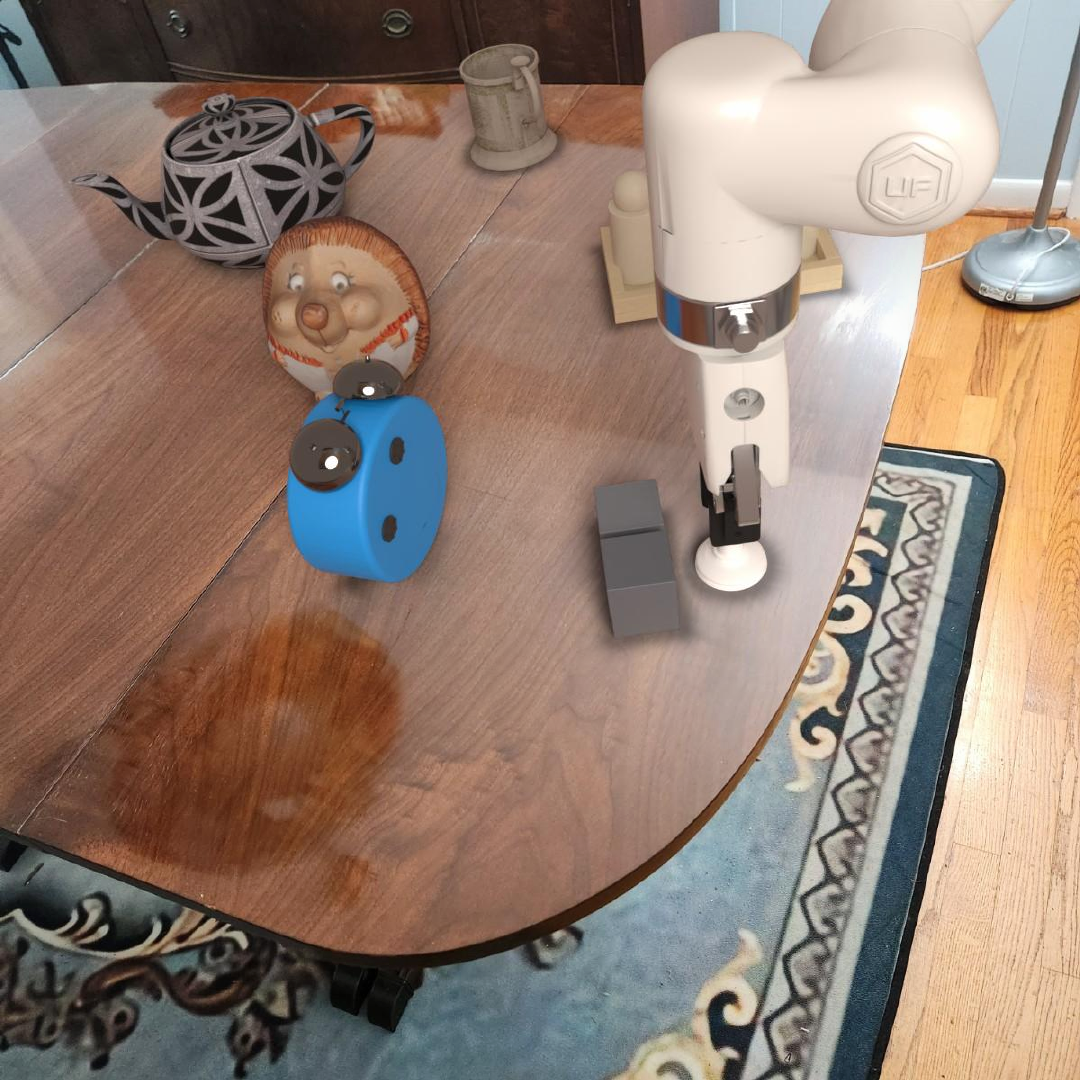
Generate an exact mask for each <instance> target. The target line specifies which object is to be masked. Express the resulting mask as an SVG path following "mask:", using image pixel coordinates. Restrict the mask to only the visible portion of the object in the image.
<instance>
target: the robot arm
mask: <svg viewBox="0 0 1080 1080" xmlns="http://www.w3.org/2000/svg"><path fill="white" fill-rule="evenodd" d="M1015 1H1016V0H830V1H829V3H828V5H827V7H826V9H825V11H824V12H823V14H822V16H821V19H820V21H819V23H818V25H817V28H816V31H815V34H814V35H813V36H814V37H813V38H812V42H811V45H810V46H811V47H810V51H809V55H808V64H807V63H806V60H805V59H804V57H803V55H801V53H800V51H799V50H798V49H797V48H796V47H795V46H794V45H793V44H790V43H789V42H787V41H786V40H785V39H783V38H781V37H779V36H777V35H774V34H770V33H766V32H762V31H753V30H726V31H718V32H717V31H715V32H711V33H706V34H702V35H699V36H695V37H692V38H689V39H687V40H684V41H682V42H680V43H678V44H676V45H674V46H672V47H671V48H668V50H667V51H665V52H664V53H663V54H662V55H660V56H659V57H658V58H657V59H656V60H655V61H654V62H653V64H652V65H651V67H650V68H649V71H648V72H647V74H646V76H645V79H644V82H643V86H642V92H641V118H642V132H643V145H644V158H645V172H646V173H645V174H646V175H647V186H648V199H649V211H650V221H651V236H652V250H653V264H654V278H655V291H656V305H657V324H658V327H659V329H660V331H661V332H662V335H664V337H666V338H667V339H668V340H669V341H670V343H672V344H674V345H675V346H677V347H679V354H680V366H681V376H682V383H683V384H682V385H683V391H684V398H685V403H686V408H687V413H688V419H689V423H690V428H691V431H692V436H693V440H694V444H695V449H696V452H697V456H698V459H699V461H698V462H699V464H698V465H699V466H698V467H699V484H700V485H699V486H700V487H699V488H700V501H701V505H702V507H703V508H704V509H708V522H709V523H708V527H709V537H710V541H711V545H712V546H713V547H721V546H728V545H738V544H743V543H750V542H756V541H758V542H759V540H760V539H761V534H762V533H761V532H762V531H761V530H762V496H761V494H762V492H761V491H762V489H761V487H762V486H761V485H762V481H761V480H762V479H761V478H762V477H761V475H762V476H763V478H764V480H765V481H766V483H767V484H768V486H769V487H770V488H771V489H777V488H784V487H785V486H787V484H788V483H789V482H790V479H791V403H790V402H791V401H790V382H789V381H790V380H789V378H790V377H789V367H788V357H787V356H788V355H787V349H786V348H787V347H786V339H785V337H786V336H788V335H789V333H790V332H791V331H792V330H793V329H794V327H795V326H796V324H797V322H798V318H799V316H800V301H801V295H800V286H801V266H802V240H803V225H804V226H811V227H818V228H824V229H828V230H831V231H838V232H843V233H850V234H856V235H863V236H872V237H885V238H886V237H889V238H900V237H911V236H918V235H925V234H927V233H928V234H929V233H931V232H935V231H938V230H940V229H942V228H945V227H947V226H949V225H951V224H953V223H955V222H956V221H958V220H959V219H961V218H962V217H964V216H966V215H967V214H968V213H969V212H970V211H972V210H973V208H975V206H976V205H977V204H978V203H979V202H980V201H981V200H982V198H984V196H985V194H986V193H987V191H988V190H989V188H990V186H991V184H992V181H993V180H994V177H995V175H996V172H997V168H998V164H999V161H1000V154H1001V134H1000V126H999V120H998V116H997V113H996V112H997V111H996V110H995V105H994V101H993V98H992V95H991V92H990V89H989V85H988V82H987V80H986V76H985V72H984V68H983V65H982V61H981V60H980V59H981V58H980V56H979V53H978V50H977V48H978V46H979V45H980V44H981V43H982V41H983V40H984V39H985V37H986V36H987V35H988V34H989V32H990V31H991V30H992V28H993V27H994V26H995V25H996V24H997V23H998V22H999V20H1000V19H1001V18H1002V17H1003V15H1004V14H1005V13H1006V12H1007V11H1008V9H1009V8H1010V7H1011V6H1012V5H1013V3H1014V2H1015ZM729 483H733V491H730V492H724V485H725V484H729Z"/></svg>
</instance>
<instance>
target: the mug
mask: <svg viewBox="0 0 1080 1080" xmlns="http://www.w3.org/2000/svg"><path fill="white" fill-rule="evenodd" d="M539 63H540V58H539V55H538V51H537V50H536V49H534V48H533V47H532V46H529V45H525V44H520V43H504V44H503V43H502V44H498V45H497V44H496V45H492V46H488V47H485V48H481V49H480V50H477V51H475V52H473V53H471V54H470V55H468V56H466V58H464V59H463V60H462V61H461V63H460V65H459V67H458V69H459V75H460V78H461V80H463V84H464V89H465V94H466V98H467V99H466V100H467V103H468V104H467V105H468V108H469V112H470V118H471V123H472V128H473V133H474V143H473V145H472V147H471V150H470V151H469V152H470V158H471V161H472V162H473V163H474V164H475V165H476V166H478V167H480V168H482V169H484V170H489V171H494V172H495V171H496V172H507V171H515V170H520V169H525V168H528V167H531V166H533V165H536V164H538V163H540V162H542V161H544V160H545V159H546V158H548V157H550V155H551V154H552V153H553V152H554V151H555V150H556V147H557V145H558V139H557V135H556V133H555V132H553V130H551V129H550V128H549V126H548V122H547V119H546V113H545V106H544V100H543V93H542V86H541V80H540V79H541V78H540V73H539V66H538V65H539Z"/></svg>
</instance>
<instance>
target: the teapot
mask: <svg viewBox="0 0 1080 1080" xmlns="http://www.w3.org/2000/svg"><path fill="white" fill-rule="evenodd" d="M201 109H202V110H200V111H198V112H195V113H194V114H192V115H190V116H188V117H187V118H185V119H184V120H183V121H181V122H180V123H178V124H177V125H175V127H173V128H172V129H171V130H170V132H168V133H167V135H166V137H165V138H164V140H163V142H162V145H161V154H160V155H161V156H160V193H161V201H160V200H159V201H147V200H144V199H143V200H142V199H141V198H139V197H137V196H136V195H134V194H133V193H132V192H131V191H129V189H127V188H126V186H124V185H123V184H122V183H121V181H119V180H118V179H116V178H115V177H113V176H111V175H109V174H107V173H103V172H90V173H86V174H83V175H80V176H77V177H75V178H72V179H70V180H69V181H68V184H69V185H72V186H78V187H85V188H90V189H93V190H96V191H98V192H100V193H101V194H103V195H104V196H105V197H106V198H109V199H110V201H112V203H114V205H115V206H116V207H117V208H118V209H119V210H120V211H121V212H122V213H123V215H125V217H126V218H127V219H128V220H129V221H130V222H131V223H132V224H133V226H135V227H136V228H137V229H138V230H140V231H141V232H142V233H144V234H146V235H148V236H150V237H152V238H155V239H159V240H163V241H176V242H177V244H178V245H179V246H180V247H181V248H183V249H184V250H185V251H186V252H188V253H189V254H191V255H193V256H195V257H196V258H198V259H201V260H204V261H206V262H210V263H212V264H217V265H220V266H223V267H226V268H230V269H231V268H232V269H241V270H242V269H245V270H246V269H256V268H263V267H265V264H266V261H267V257H268V255H269V252H270V250H271V247H272V246H273V244H274V242H275V241H276V240H277V239H278V237H279V236H280V235H281V234H282V233H283V232H285V231H287V230H288V229H290V228H292V227H293V226H295V225H296V224H299V223H301V222H304V221H307V220H310V219H314V218H321V217H327V216H339V214H340V212H341V210H342V208H343V206H344V202H345V201H346V200H345V199H346V193H347V184H346V183H347V182H348V181H349V180H351V178H352V177H353V176H354V175H355V174H356V173H357V172H358V171H359V169H360V168H361V167H362V165H363V164H364V163H365V161H366V160H367V158H368V157H369V155H370V152H371V150H372V148H373V145H374V141H375V137H376V122H375V117H374V116H373V113H372V112H371V110H370V109H369V107H367V106H366V105H363V104H361V103H346V104H339V105H336V106H332V107H327V108H325V109H321V110H318V111H315V112H312V113H308V114H306V115H303V114H302V113H301V111H299V109H297V107H295V106H294V104H292V103H290V102H289V101H287V100H285V99H281V98H277V97H271V96H250V97H244V98H237V97H236V96H235V95H234V94H232V93H228V92H227V93H218V94H215V95H212V96H210V97H208V98H207V99H205V100H204V101H203V102H202V104H201ZM345 119H357V120H359V123H360V131H359V138H358V142H357V144H356V147H355V149H354V151H353V152H352V155H351V156H350V157H349V159H348V160H347V161H346V162H345V163H344V164H343V166H341V164H340V163H341V162H340V161H339V160H338V157H337V156H336V154H335V152H334V151H333V149H332V148H331V147H330V145H329V144H328V142H327V141H326V140H325V138H324V137H323V135H322V134H321V133H320V132H319V131H318V129H316V128H318V127H321V126H324V125H327V124H330V123H334V122H337V121H341V120H345Z"/></svg>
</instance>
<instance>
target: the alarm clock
mask: <svg viewBox="0 0 1080 1080" xmlns="http://www.w3.org/2000/svg"><path fill="white" fill-rule="evenodd" d="M405 392H406V380H405V381H404V378H403V376H402V374H401V373H400V371H399V370H398V369H397V368H396V367H395V366H393V365H392V364H390V363H388V362H386V361H383V360H380V359H375V358H370V355H365V358H363V359H357V360H354V361H351V362H349V363H347V364H346V365H344V366H343V367H342V368H341V369H340V370H339V371H338V372H337V373H336V375H335V377H334V380H333V393H331V394H329V395H327V396H326V397H324V398H323V399H322V400H321V401H320V402H317V403H316V405H315V406H314V407H313V408H312V409H311V410H310V412H309V413H308V415H307V416H306V418H305V420H304V422H302V423H303V424H302V425H301V427H300V429H299V430H298V432H297V433H296V435H295V436H294V437H293V439H292V441H291V443H290V447H289V451H288V463H289V466H288V471H287V481H286V508H287V510H286V511H287V519H288V524H289V528H290V531H291V532H290V533H291V537H292V539H293V542H294V544H295V546H296V549H297V550H298V551H299V554H300V555H301V556H302V558H303V559H304V560H305V561H306V562H307V563H308V565H310V566H311V567H312V568H314V569H316V570H318V571H320V572H324V573H328V574H335V575H340V576H346V577H351V579H356V578H358V579H363V580H369V581H374V582H375V581H376V582H382V583H388V584H394V583H399V582H403V581H404V580H406V579H408V578H409V577H410V576H412V575H413V574H414V573H415V572H416V571H417V570H418V569H419V568H420V566H421V565H422V564H423V562H424V560H425V559H426V557H427V555H428V554H429V552H430V550H431V548H432V546H433V544H434V541H435V539H436V536H437V535H438V534H437V533H438V531H439V528H440V524H441V521H442V517H443V513H444V507H445V503H446V495H447V486H448V485H447V484H448V456H447V454H448V453H447V447H446V441H445V437H444V436H445V435H444V432H443V429H442V425H441V422H440V420H439V418H438V416H437V414H436V412H435V411H434V409H433V408H432V406H430V405H429V403H427V402H426V400H424V399H422V398H420V397H418V396H414V395H407V394H404V393H405Z"/></svg>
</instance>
